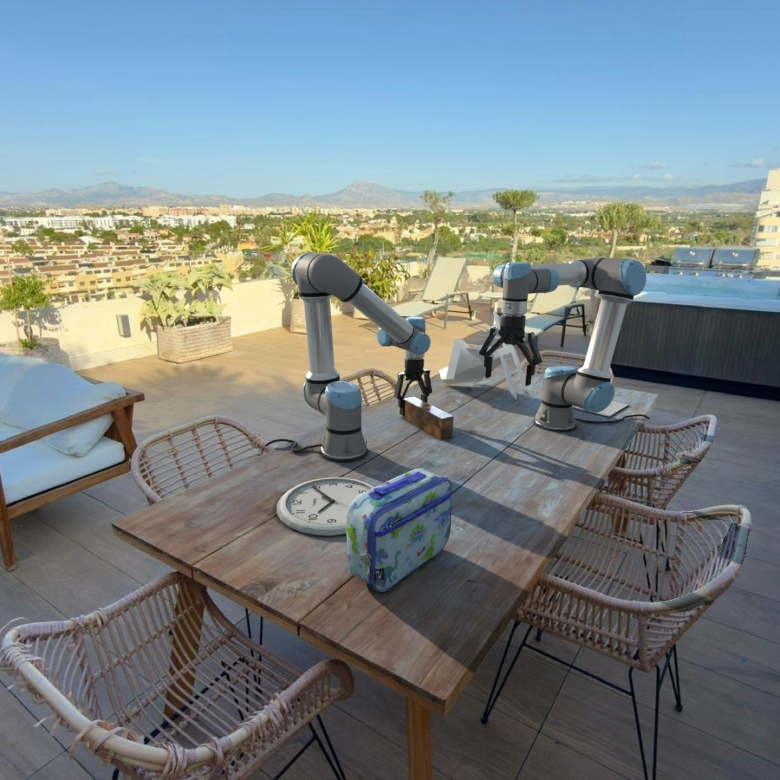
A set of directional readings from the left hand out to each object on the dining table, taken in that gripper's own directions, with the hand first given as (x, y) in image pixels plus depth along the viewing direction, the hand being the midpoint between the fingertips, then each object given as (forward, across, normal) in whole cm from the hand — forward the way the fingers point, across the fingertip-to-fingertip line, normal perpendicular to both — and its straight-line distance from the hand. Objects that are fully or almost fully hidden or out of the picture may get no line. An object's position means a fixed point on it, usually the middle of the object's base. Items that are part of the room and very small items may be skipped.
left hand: (412, 412), depth 207 cm
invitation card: (+3, -81, +26) cm, 85 cm away
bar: (+3, 0, +10) cm, 10 cm away
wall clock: (+3, +56, +46) cm, 72 cm away
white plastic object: (+3, -47, -15) cm, 49 cm away
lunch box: (+3, +54, +77) cm, 94 cm away
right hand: (-24, -6, +45) cm, 51 cm away
